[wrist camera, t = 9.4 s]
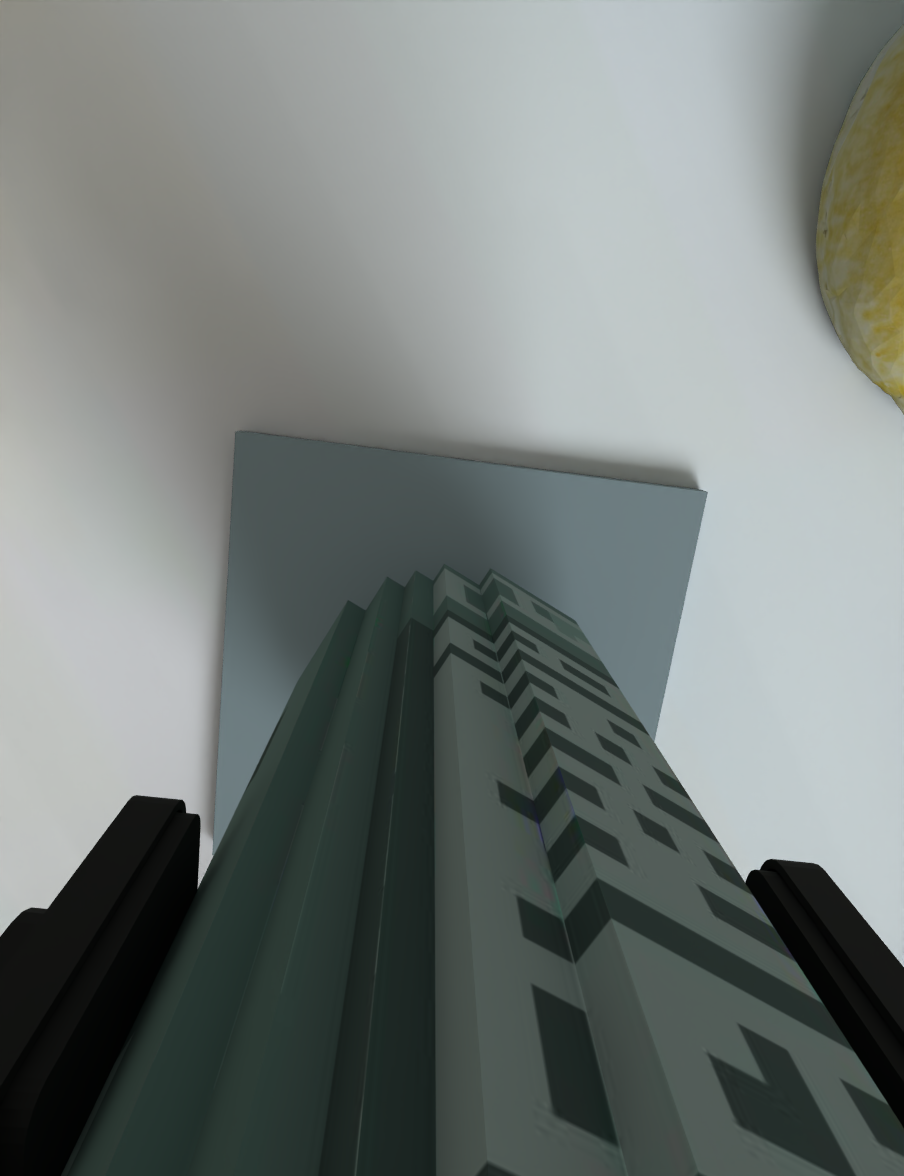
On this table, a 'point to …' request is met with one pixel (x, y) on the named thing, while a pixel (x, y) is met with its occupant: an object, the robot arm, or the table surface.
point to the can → (477, 941)
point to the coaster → (434, 565)
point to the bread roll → (868, 225)
